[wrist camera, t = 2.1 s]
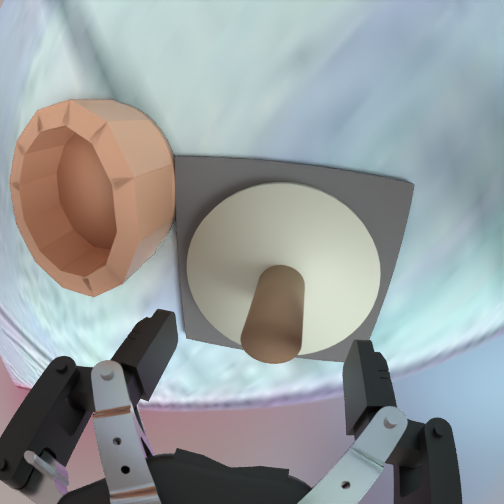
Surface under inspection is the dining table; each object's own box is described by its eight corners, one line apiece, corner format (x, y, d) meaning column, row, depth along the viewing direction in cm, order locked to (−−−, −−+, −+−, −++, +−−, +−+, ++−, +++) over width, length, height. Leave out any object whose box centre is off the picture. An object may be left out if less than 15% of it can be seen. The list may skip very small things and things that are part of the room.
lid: (396, 197, 14) (439, 237, 9) (351, 353, 19) (356, 418, 14) (189, 174, 16) (133, 201, 10) (197, 331, 21) (168, 389, 16)
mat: (410, 182, 14) (414, 184, 13) (358, 358, 20) (358, 363, 20) (179, 155, 16) (174, 157, 15) (188, 333, 22) (186, 338, 21)
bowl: (180, 92, 14) (135, 84, 10) (182, 271, 19) (150, 312, 15) (53, 115, 16) (6, 122, 11) (67, 250, 21) (30, 276, 17)
